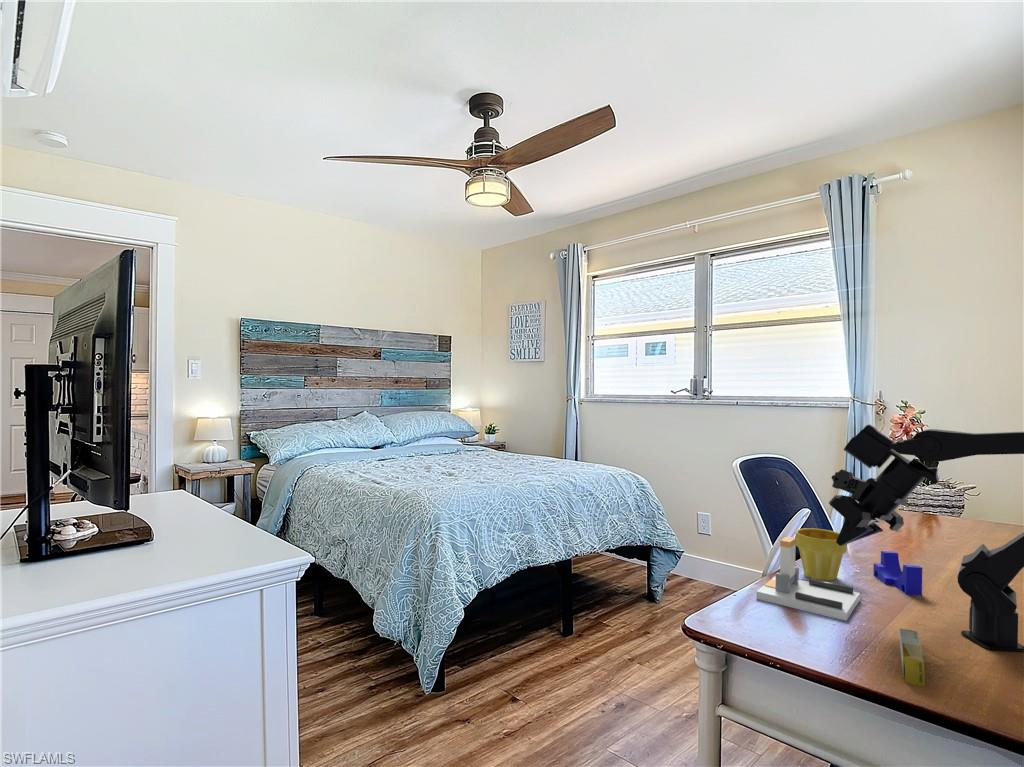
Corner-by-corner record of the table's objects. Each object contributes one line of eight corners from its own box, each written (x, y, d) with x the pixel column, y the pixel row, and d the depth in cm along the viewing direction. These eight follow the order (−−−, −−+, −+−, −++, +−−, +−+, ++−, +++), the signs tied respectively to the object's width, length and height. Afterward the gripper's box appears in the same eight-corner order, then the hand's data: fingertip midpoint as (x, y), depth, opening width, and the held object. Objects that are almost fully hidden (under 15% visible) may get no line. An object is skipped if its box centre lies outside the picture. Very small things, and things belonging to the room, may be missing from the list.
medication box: (899, 652, 94) (898, 627, 95) (919, 656, 93) (919, 631, 93) (903, 684, 84) (902, 656, 84) (926, 689, 83) (925, 660, 83)
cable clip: (873, 576, 133) (873, 550, 133) (894, 577, 132) (895, 551, 132) (898, 594, 121) (898, 566, 121) (921, 596, 121) (922, 567, 121)
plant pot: (819, 585, 125) (820, 540, 125) (784, 570, 135) (785, 529, 135) (857, 582, 128) (858, 538, 128) (820, 567, 138) (821, 527, 138)
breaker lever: (795, 582, 121) (796, 537, 121) (788, 588, 117) (789, 542, 117) (785, 580, 122) (786, 536, 122) (778, 586, 118) (779, 540, 118)
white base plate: (859, 600, 117) (860, 575, 117) (846, 620, 106) (846, 593, 106) (776, 581, 127) (776, 559, 127) (756, 598, 117) (756, 574, 117)
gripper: (878, 462, 119) (829, 517, 125) (834, 451, 109) (783, 512, 114) (928, 500, 111) (873, 557, 117) (886, 492, 100) (827, 555, 106)
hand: (838, 544), depth 114 cm, fingers closed
